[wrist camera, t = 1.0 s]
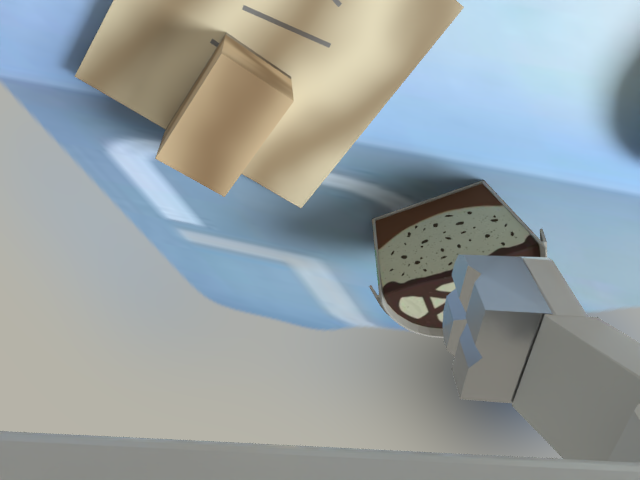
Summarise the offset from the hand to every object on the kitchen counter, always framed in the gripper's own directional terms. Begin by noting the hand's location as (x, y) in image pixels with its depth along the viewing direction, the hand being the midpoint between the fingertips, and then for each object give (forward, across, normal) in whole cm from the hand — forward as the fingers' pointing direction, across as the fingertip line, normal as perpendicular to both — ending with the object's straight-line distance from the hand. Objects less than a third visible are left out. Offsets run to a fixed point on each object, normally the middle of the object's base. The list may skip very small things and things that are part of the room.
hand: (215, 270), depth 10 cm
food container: (+33, -13, +18) cm, 40 cm away
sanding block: (+30, +4, +7) cm, 31 cm away
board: (+31, +2, +3) cm, 31 cm away
